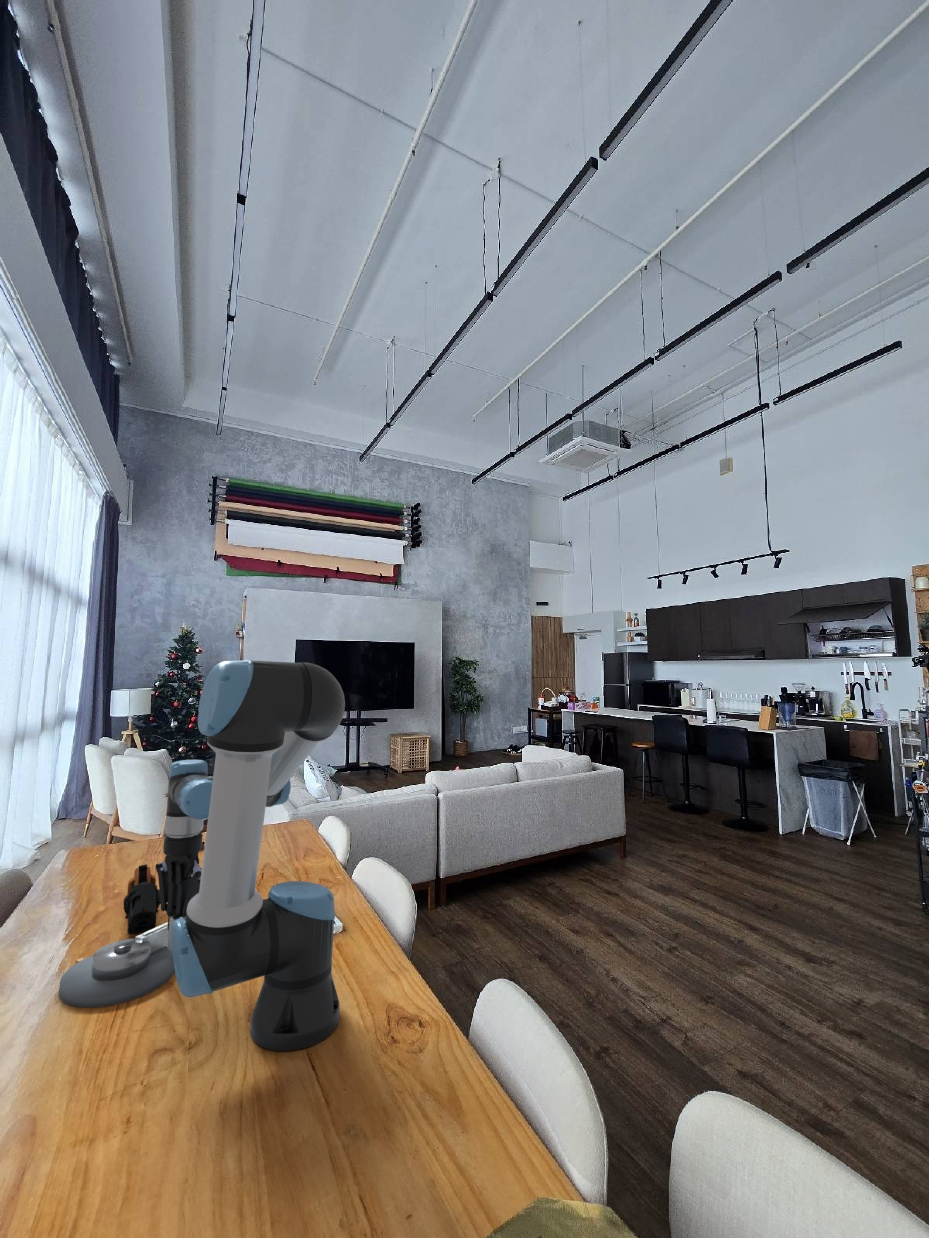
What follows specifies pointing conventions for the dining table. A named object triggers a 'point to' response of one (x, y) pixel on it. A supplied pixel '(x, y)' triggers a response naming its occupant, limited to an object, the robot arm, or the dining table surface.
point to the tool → (141, 901)
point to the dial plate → (114, 982)
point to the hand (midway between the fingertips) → (175, 947)
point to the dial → (128, 954)
